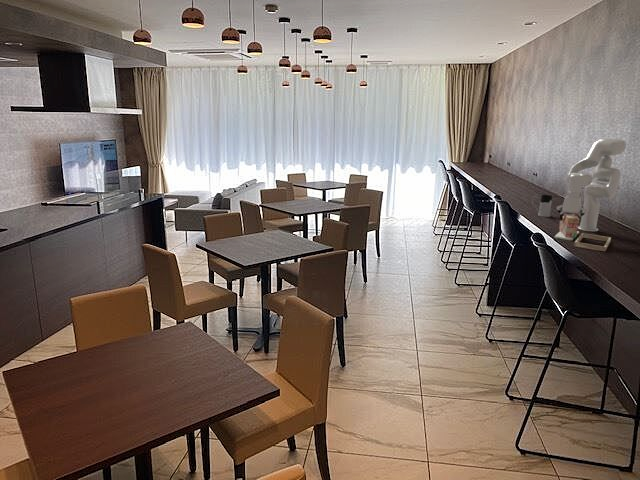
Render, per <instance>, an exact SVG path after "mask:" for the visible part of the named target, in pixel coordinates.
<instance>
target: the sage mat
mask: <svg viewBox="0 0 640 480" xmlns="http://www.w3.org/2000/svg"><path fill="white" fill-rule="evenodd" d="M579 234H580V230H579V231H578V230H577V236H578V235H579ZM554 239H559V240H566V241H574V239H575V238H572V237H565V236H564V235H563V233H562V232H561V231H560V230H559V232H557V233H556V234H555V236H554Z"/></svg>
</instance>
